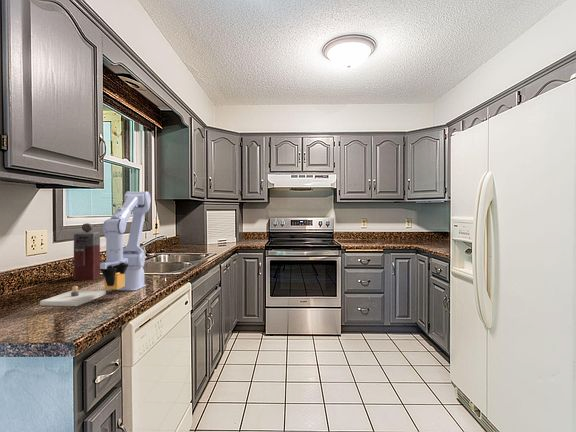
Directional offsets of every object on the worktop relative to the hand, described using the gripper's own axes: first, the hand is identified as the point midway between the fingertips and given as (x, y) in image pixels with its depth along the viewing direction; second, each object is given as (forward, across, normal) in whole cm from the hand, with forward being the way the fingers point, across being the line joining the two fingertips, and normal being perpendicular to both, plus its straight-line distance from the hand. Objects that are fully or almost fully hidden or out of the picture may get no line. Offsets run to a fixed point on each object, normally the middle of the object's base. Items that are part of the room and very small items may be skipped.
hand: (114, 284), depth 122 cm
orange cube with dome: (+1, 0, 0) cm, 1 cm away
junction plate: (+6, -3, +14) cm, 15 cm away
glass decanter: (+6, +33, +36) cm, 49 cm away
